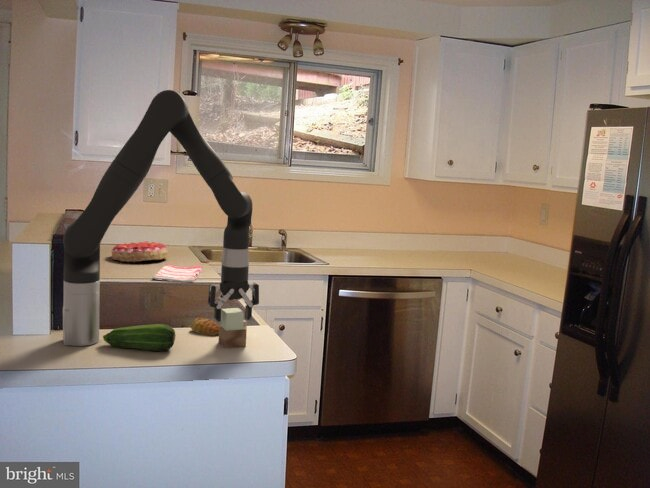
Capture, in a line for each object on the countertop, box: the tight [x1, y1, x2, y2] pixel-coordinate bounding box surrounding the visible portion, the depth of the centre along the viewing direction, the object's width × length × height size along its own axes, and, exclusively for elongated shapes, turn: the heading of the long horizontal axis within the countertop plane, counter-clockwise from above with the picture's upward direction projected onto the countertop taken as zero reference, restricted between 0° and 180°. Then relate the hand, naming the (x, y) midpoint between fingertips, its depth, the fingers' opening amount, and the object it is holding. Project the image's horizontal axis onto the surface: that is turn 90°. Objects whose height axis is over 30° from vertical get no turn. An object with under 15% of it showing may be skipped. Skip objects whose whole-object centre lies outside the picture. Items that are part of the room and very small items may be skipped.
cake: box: [111, 241, 169, 264], centre depth 306 cm, size 25×25×8 cm
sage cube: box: [220, 307, 245, 331], centre depth 186 cm, size 5×5×5 cm
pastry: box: [190, 317, 220, 336], centre depth 198 cm, size 9×7×4 cm
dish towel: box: [151, 264, 203, 283], centre depth 275 cm, size 17×23×4 cm
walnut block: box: [218, 325, 247, 350], centre depth 187 cm, size 6×6×5 cm
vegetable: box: [102, 323, 176, 352], centre depth 179 cm, size 7×7×20 cm
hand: (233, 320), depth 186 cm, fingers open, 8 cm apart
